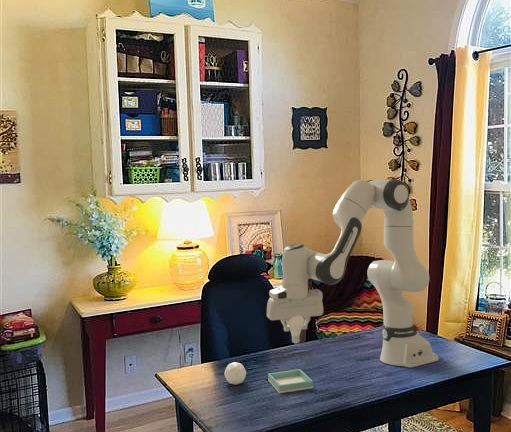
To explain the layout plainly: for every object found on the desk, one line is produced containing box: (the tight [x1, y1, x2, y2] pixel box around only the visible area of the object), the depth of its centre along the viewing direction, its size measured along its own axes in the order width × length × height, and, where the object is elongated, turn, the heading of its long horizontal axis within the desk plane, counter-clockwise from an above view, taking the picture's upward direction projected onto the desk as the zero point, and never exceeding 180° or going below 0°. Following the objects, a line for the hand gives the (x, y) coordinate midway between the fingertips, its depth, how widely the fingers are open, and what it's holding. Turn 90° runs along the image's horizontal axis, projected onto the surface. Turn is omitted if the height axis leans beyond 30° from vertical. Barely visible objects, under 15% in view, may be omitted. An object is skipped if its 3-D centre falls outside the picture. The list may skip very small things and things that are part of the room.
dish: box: [267, 368, 314, 394], centre depth 205 cm, size 12×12×3 cm
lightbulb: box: [285, 315, 305, 344], centre depth 202 cm, size 6×6×11 cm
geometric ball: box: [224, 361, 247, 386], centre depth 207 cm, size 8×8×8 cm
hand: (295, 330), depth 202 cm, fingers closed on lightbulb, 5 cm apart
